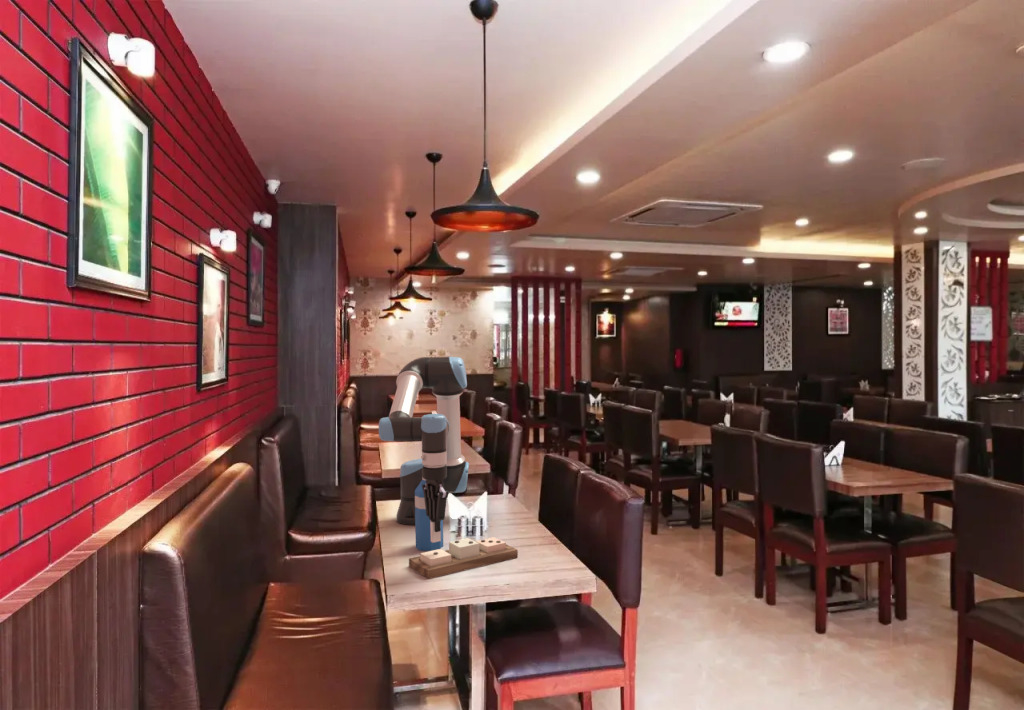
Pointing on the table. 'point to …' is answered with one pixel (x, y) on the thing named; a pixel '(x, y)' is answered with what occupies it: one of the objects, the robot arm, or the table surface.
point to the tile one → (435, 557)
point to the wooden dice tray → (462, 562)
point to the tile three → (491, 545)
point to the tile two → (463, 548)
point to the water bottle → (424, 523)
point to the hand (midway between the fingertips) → (435, 541)
